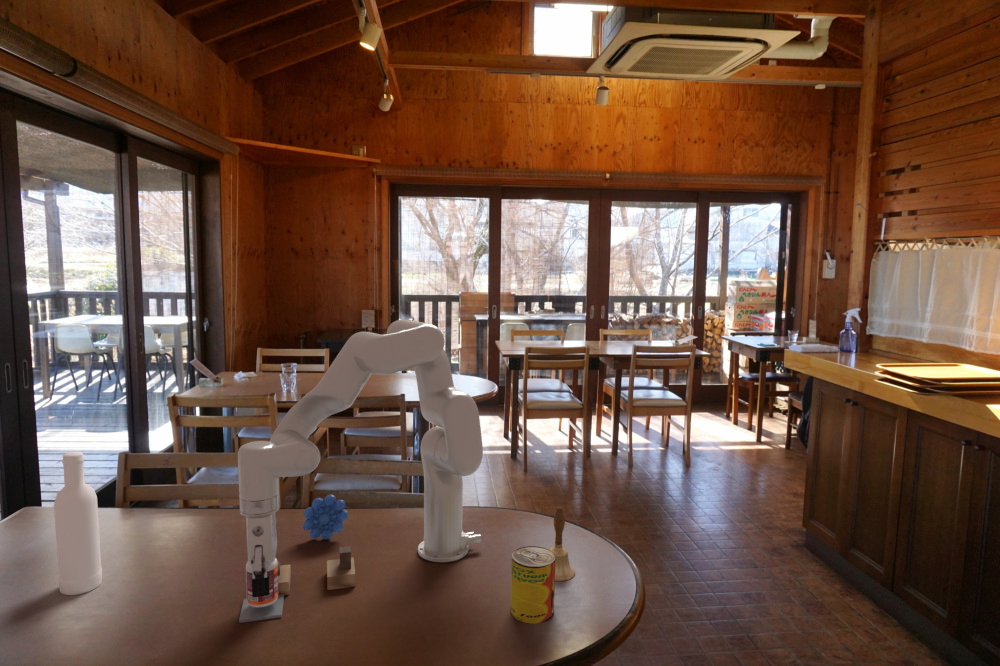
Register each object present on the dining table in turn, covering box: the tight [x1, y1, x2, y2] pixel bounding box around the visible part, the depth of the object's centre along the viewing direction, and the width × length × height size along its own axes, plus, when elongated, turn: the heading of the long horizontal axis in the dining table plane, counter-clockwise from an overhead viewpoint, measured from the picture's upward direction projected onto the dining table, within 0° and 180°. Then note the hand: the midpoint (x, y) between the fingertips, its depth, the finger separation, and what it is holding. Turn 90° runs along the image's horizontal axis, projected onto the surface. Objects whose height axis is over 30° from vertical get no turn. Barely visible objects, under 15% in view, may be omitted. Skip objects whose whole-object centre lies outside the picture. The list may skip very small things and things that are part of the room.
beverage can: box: [510, 545, 556, 624], centre depth 128 cm, size 9×9×12 cm
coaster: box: [238, 594, 285, 624], centre depth 128 cm, size 8×8×1 cm
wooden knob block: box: [277, 545, 356, 597], centre depth 138 cm, size 20×8×7 cm, turn 106°
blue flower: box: [302, 494, 349, 541], centre depth 161 cm, size 12×7×12 cm, turn 94°
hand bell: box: [548, 506, 576, 582], centre depth 145 cm, size 8×8×16 cm
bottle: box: [53, 451, 103, 596], centre depth 134 cm, size 8×8×30 cm
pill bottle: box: [245, 546, 278, 607], centre depth 127 cm, size 6×6×11 cm
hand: (262, 586), depth 128 cm, fingers closed on pill bottle, 6 cm apart
